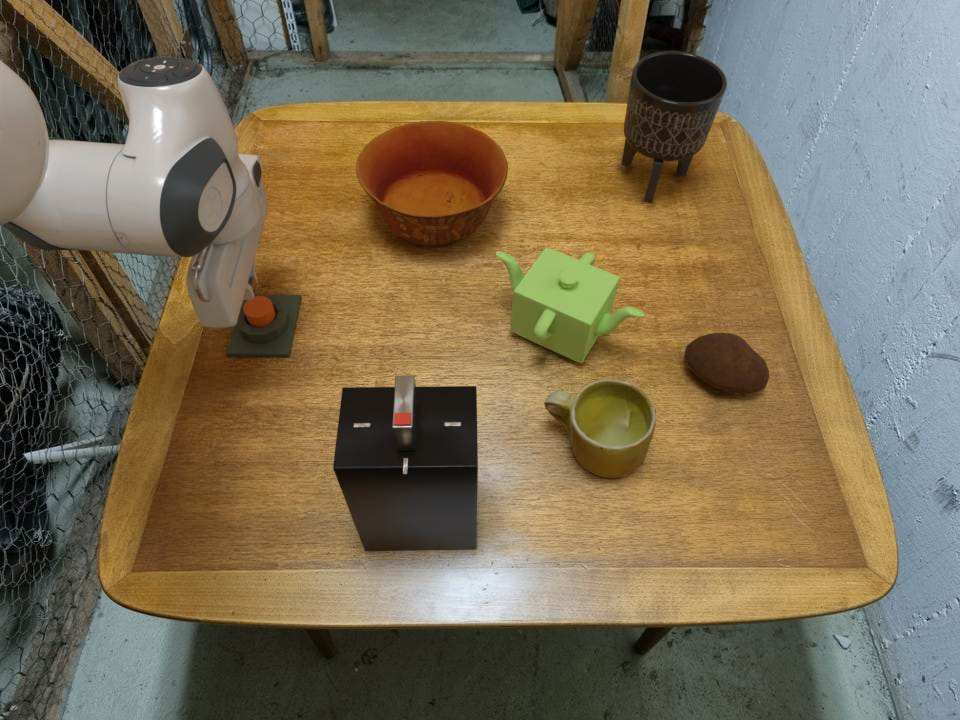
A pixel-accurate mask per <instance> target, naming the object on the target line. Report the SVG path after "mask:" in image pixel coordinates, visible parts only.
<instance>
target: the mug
mask: <svg viewBox="0 0 960 720" xmlns="http://www.w3.org/2000/svg"><path fill="white" fill-rule="evenodd" d="M543 404H544V407H545V410H546V411H547V412H548V414H550V415H551V416H552V417H553V418H554V419H555V420H556V421H558V422H560V424H562V425H563V426H564V427H565V428H566V431H567V433H568V435H569V438H570V442H571V443H570V445H571V448H572V451H573V455H574V457H575V458H576V460H577V462H578V463H579V464H580V466H582V467H583V468H584V469H585V470H586V471H588V472H590V473H592V474H594V475H595V476H599V477H602V478H607V479H611V478H612V479H615V478H622V477H625V476H628V475H629V474H631V473H633V472H635V471H636V470H637V469H638V468H640V466H641V465H642V464H643V462H644V461H645V459H646V456H647V453H648V451H649V450H648V449H649V446H650V444H651V442H652V440H653V437H654V433H655V428H656V423H657V409H656V406H655V404H654V402H653V401H652V399H651V398H650V396H648V394H647V393H646V392H645V391H643V390H642V389H641V388H640V387H638V386H636V385H634V384H632V383H631V382H627V381H624V380H619V379H611V378H604V379H599V380H596V381H592V382H591V383H589V384H586V385H585V386H584V387H583V388H582V389H581V390H580V391H579V392H578V393H577V394H576V395H572V394H570V393H568V392H567V391H563V390H556V391H552V392H551V393H549V395H548V396H547V397H546V398H545V400H544V402H543Z"/></svg>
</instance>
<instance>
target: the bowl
mask: <svg viewBox="0 0 960 720" xmlns="http://www.w3.org/2000/svg"><path fill="white" fill-rule="evenodd" d="M508 172H509V162H508V159H507V157H506V155H505V152H504V150H503V149H502V147H501V146H500V145H499V144H498V143H497V142H496V141H495V140H494V139H493V138H491V137H490V136H489V135H488V134H486V132H485V133H484V132H483V131H482V130H479V129H476V128H474V127H472V126H469V125H466V124H462V123H458V122H453V121H446V120H422V121H421V120H420V121H414V122H410V123H406V124H401V125H399V126H394V127H392V128H390V129H388V130H386V131H384V132H382V133H380V134H379V135H377V136H374V138H372V139H371V140H370V141H369V142H368V143H366V145H365V146H364V147H363V148H362V150H361V152H360V153H359V155H358V156H357V159H356V163H355V174H356V177H357V180H358V182H359V185H360V186H361V188H362V189H363V190H364V193H366V195H367V196H368V197H369V198H370V199H371V200H372V201H373V202H374V203H375V206H376V208H377V210H378V213H379V216H380V217H381V219H382V221H383V223H384V224H385V225H386V226H387V228H388V229H389V230H390V231H391V232H392V233H394V234H395V235H396V236H398V237H399V238H401V239H404V240H405V241H408V242H411V243H414V244H419V245H425V246H440V245H448V244H454V243H457V242H459V241H461V240H463V239H465V238H467V237H469V236H470V235H472V234H474V233H475V232H476V231H478V229H479V228H480V227H482V225H483V224H484V222H485V220H486V218H487V217H488V214H489V211H490V208H491V204H492V202H493V200H494V199H495V198H496V197H497V196H498V195H499V194H500V193H501V191H502V190H503V188H504V186H505V184H506V181H507V178H508Z"/></svg>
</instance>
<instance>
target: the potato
mask: <svg viewBox="0 0 960 720" xmlns="http://www.w3.org/2000/svg"><path fill="white" fill-rule="evenodd" d="M684 359H685V362H686V365H687V366H688V368H689V369H690V371H692V372H693V374H694V375H696V377H698V378H699V379H700V380H701V381H703V382H704V383H705V384H706V385H708V386H709V387H712V388H714V389H718V390H721V391H724V392H727V393H729V394H730V393H732V394H735V395H736V394H737V395H750V394H751V395H752V394H755V393H758V392H760V391H761V390H764V389H765V388H766V387H767V385H768V383H769V379H770V369H769V367H768V364H767V362H766V360H765V358H763V357H762V355H760V354H759V353H758V352H756V351H755V349H754V348H752V347H751V345H750V344H749V343H748V342H747V341H746V340H745V339H743V338H742V337H741V336H740V335H738V334H734V333H729V332H713V333H707V334H704V335H700V336H698V337H697V338H695V339H693V340H691V342H689V343H688V344H687V345H686V346H685V349H684Z"/></svg>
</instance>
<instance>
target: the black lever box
mask: <svg viewBox="0 0 960 720" xmlns="http://www.w3.org/2000/svg"><path fill="white" fill-rule="evenodd" d="M477 389H478V388H477V386H476V385H459V386H457V385H455V386H452V385H451V386H449V385H448V386H447V385H446V386H444V385H443V386H441V385H440V386H416V392H417V399H418V405H417V431H416V450H412V451H397V448H396V443H395V438H394V433H393V428H392V424H393V407H394V391H395V386H360V387H359V386H358V387H357V386H355V387H354V386H353V387H351V386H350V387H349V386H348V387H347V386H345V387H342V388H341V397H340V404H339V405H340V407H339V415H338V423H337V430H336V431H337V432H336V439H335V449H334V457H333V464H332V465H333V466H332V469H333V472H334V474H335V477H336V479H337V480H336V481H337V482H338V484H339V487H340V490H341V493H342V496H343V498H344V500H345V501H344V502H345V503H346V506H347V508H348V511H349V513H350V517H351V518H352V521H353V524H354V526H355V529H356V532H357V534H358V537H359V540H360V542H361V545H362V548H363V550H364V552H400V551H401V552H405V551H406V552H407V551H411V552H412V551H415V552H416V551H471V550H472V551H476V550H477V549H478V495H479V493H478V491H479V490H478V489H479V488H478V487H479V486H478V485H479V483H478V481H479V454H478V451H479V449H478V444H479V443H478V396H477Z"/></svg>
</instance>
